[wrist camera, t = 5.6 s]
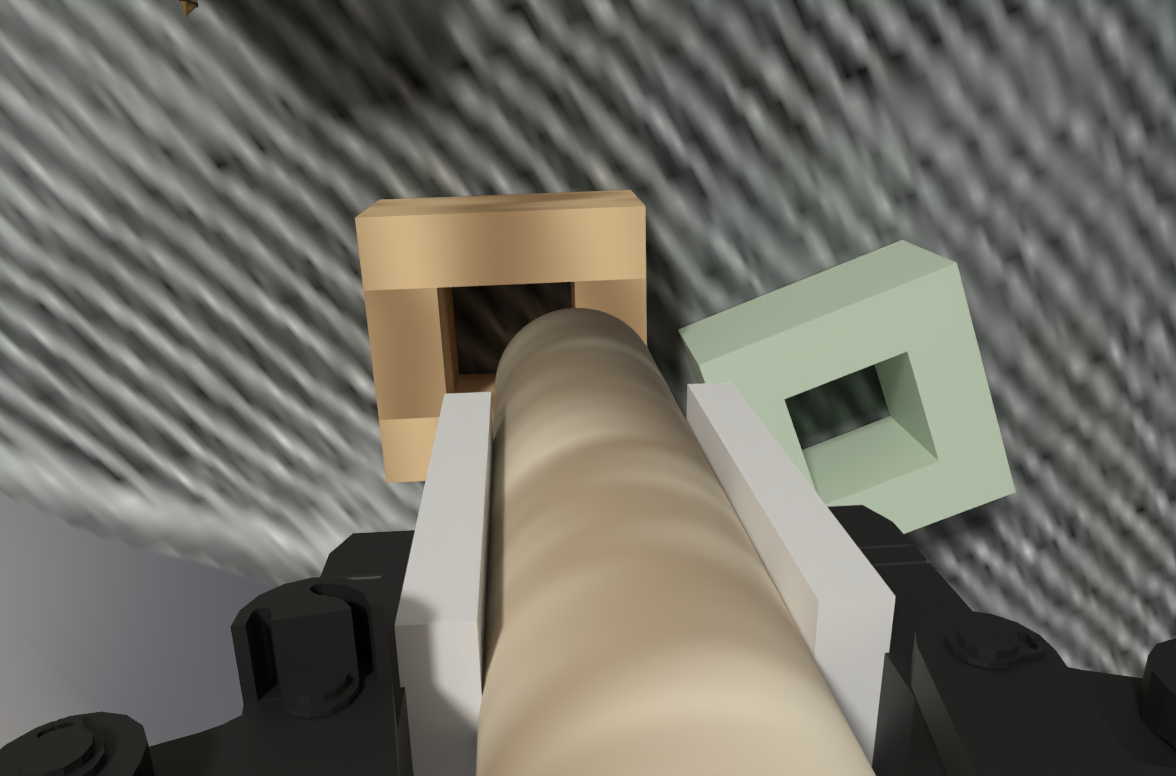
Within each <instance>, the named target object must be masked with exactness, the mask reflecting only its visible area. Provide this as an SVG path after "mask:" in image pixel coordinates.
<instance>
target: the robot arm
mask: <svg viewBox="0 0 1176 776" xmlns="http://www.w3.org/2000/svg"><path fill="white" fill-rule="evenodd" d="M687 423H688V425H689V427H690V429H691V430H692V432H693V434H694V436H695V438H696V440H697V442H698V444H699V445H700V447H701V449H702V451H703V453H704V455H705V457H706V458H707V460H708V462H709V464H710V466H711V468H712V470H713V472H714V473H715V475H716V477H717V479H718V481H719V483H720V485H721V487H722V488H723V490H724V492H725V494H726V496H727V498H728V500H729V502H730V503H731V505H732V507H733V509H734V511H735V513H736V515H737V516H738V518H739V520H740V522H741V524H742V526H743V528H744V530H745V531H746V533H747V535H748V537H749V539H750V541H751V543H752V545H753V546H754V548H755V550H756V552H757V554H758V556H759V558H760V560H761V561H762V563H763V565H764V567H765V569H766V571H767V573H768V575H769V576H770V578H771V580H772V582H773V584H774V586H775V588H776V589H777V591H778V593H779V595H780V597H781V599H782V601H783V603H784V604H785V606H786V608H787V610H788V612H789V614H790V616H791V618H792V619H793V621H794V623H795V625H796V627H797V629H798V631H799V633H800V634H801V636H802V638H803V640H804V642H805V644H806V646H807V647H808V649H809V651H810V653H811V655H812V657H813V659H814V661H815V662H816V664H817V666H818V668H819V670H820V672H821V674H822V676H823V677H824V679H825V681H826V683H827V685H828V687H829V689H830V691H831V692H832V694H833V696H834V698H835V700H836V702H837V704H838V706H839V707H840V709H841V711H842V713H843V715H844V717H845V719H846V720H847V722H848V724H849V726H850V728H851V730H852V732H853V734H854V735H855V737H856V739H857V741H858V743H859V745H860V747H861V749H862V750H863V752H864V754H865V756H866V758H867V760H868V762H869V764H870V765H871V767H872V769H873V771H874V773H875V775H876V776H1176V638H1175V639H1172V640H1168V641H1165V642H1162V643H1158V644H1156V646H1155V647H1154V648H1153V650H1152V651H1151V652H1150V654H1149V655H1148V658H1147V663H1146V667H1145V672H1144V676H1143V678H1136V677H1129V676H1122V675H1114V674H1107V673H1100V672H1093V671H1086V670H1079V669H1074V668H1069V667H1067V666H1066V664H1065V663H1064V661H1063V660H1062V659H1061V657H1060V656H1059V654H1058V653H1057V651H1056V650H1055V649H1054V648H1053V647H1052V646H1051V645H1050V644H1049V643H1047V642H1046V641H1045V640H1044V639H1043V638H1042V637H1041V636H1040V635H1039V634H1037V633H1035V632H1033V631H1031V630H1030V629H1028V628H1026V627H1024V626H1023V625H1021V624H1019V623H1017V622H1014V621H1011V620H1008V619H1005V618H1002V617H999V616H996V615H993V614H988V613H980V612H973V611H972V610H971V609H970V608H969V607H968V606H967V604H966V603H965V602H964V601H963V600H962V599H961V598H960V597H959V595H958V594H957V593H956V592H955V591H954V590H953V589H952V588H951V586H950V585H949V584H948V583H947V582H946V581H945V580H944V579H943V577H942V576H941V575H940V574H939V573H938V572H937V571H936V570H935V568H934V567H933V566H932V565H931V564H930V563H926V558H925V557H924V556H923V555H922V554H921V553H920V552H919V551H918V549H917V548H916V547H915V546H911V542H910V540H909V539H908V538H907V537H906V536H905V535H904V534H903V533H902V531H901V530H900V529H899V528H898V527H897V526H896V525H895V524H894V522H893V521H891V520H889V519H887V518H885V517H884V516H882V515H880V514H878V513H876V512H875V511H873V510H871V509H869V508H867V507H866V506H864V505H849V506H829V507H827V506H826V505H825V503H824V502H823V501H822V499H821V498H820V497H819V495H818V494H817V493H816V492H815V490H814V489H813V488H812V486H811V485H810V484H809V482H808V481H807V480H806V478H805V477H804V476H803V474H802V473H801V472H800V471H799V469H798V468H797V467H796V465H795V464H794V463H793V461H792V460H791V459H790V457H789V456H788V455H787V454H786V452H785V451H784V450H783V448H782V447H781V446H780V444H779V443H778V442H777V440H776V439H775V438H774V437H773V435H772V434H771V433H770V431H769V430H768V429H767V427H766V426H765V425H764V423H763V422H762V421H761V419H760V418H759V417H758V416H757V414H756V413H755V412H754V410H753V409H752V408H751V406H750V405H749V404H748V402H747V401H746V400H745V399H744V397H743V396H742V395H741V393H740V392H739V391H738V389H737V388H736V387H735V385H734V384H733V383H732V382H729V383H703V384H687ZM493 445H494V439H493V419H492V400H491V392H475V393H449V394H444V398H443V403H442V407H441V412H440V417H439V421H438V426H437V431H436V435H435V440H434V445H433V449H432V454H431V458H430V463H429V468H428V472H427V477H426V482H425V486H424V491H423V496H422V500H421V505H420V509H419V514H418V519H417V523H416V528H415V530H412V531H392V532H373V533H353V534H352V535H351V536H350V537H348V538H347V539H346V540H345V541H344V542H343V543H342V544H340V545H339V546H338V547H337V548H336V549H335V550H333V551H332V552H331V553H330V554H329V556H328V559H327V561H326V564H325V566H324V569H323V572H322V574H321V577H317V578H309V579H304V580H300V581H296V582H291V583H287V584H283V585H281V586H279V587H277V588H274V589H272V590H270V591H268V592H265V593H263V594H261V595H259V596H258V597H256V598H255V599H254V600H253V601H251V602H250V603H249V604H247V605H246V606H245V607H243V608H242V609H241V610H240V611H239V613H238V615H237V616H236V618H235V620H234V622H233V624H232V625H231V632H232V637H233V644H234V650H235V656H236V662H237V668H238V673H239V679H240V685H241V691H242V697H243V703H244V706H243V712H242V715H241V716H239V717H237V718H235V719H233V720H231V721H229V722H227V723H225V724H223V725H220V726H217V727H214V728H211V729H209V730H206V731H203V732H200V733H197V734H193V735H189V736H186V737H182V738H179V739H176V740H172V741H168V742H164V743H161V744H157V745H154V746H150V747H149V746H148V742H147V738H146V735H145V731H144V728H143V725H141V724H140V723H138V722H136V721H135V720H133V719H132V718H130V717H129V716H127V715H122V714H114V713H107V712H96V713H88V714H82V715H74V716H69V717H66V718H63V719H59V720H57V721H54V722H53V721H52V722H50V723H47V724H45V725H42V726H39V727H37V728H35V729H33V730H31V731H29V732H28V733H26V734H24V735H23V736H20V737H19V738H17V739H15V740H14V741H12V742H10V743H8V744H6V745H5V746H4V747H2V748H1V749H0V776H475V773H476V753H477V734H478V717H479V711H480V705H481V699H482V682H483V660H484V639H485V617H486V596H487V574H488V552H489V531H490V509H491V488H492V466H493Z"/></svg>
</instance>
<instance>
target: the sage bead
mask: <svg viewBox="0 0 1176 776" xmlns="http://www.w3.org/2000/svg"><path fill="white" fill-rule="evenodd" d="M678 331H679V334H680V336H681V339H682V342H683V344H684V347H685V350H686V352H687V355H688V358H689V360H690V363H691V365H692V368H693V371H694V373H695V376H696V379H697V381H698V384H703V383H729V382H732V383H733V384H734V385H735V387H736V388H737V389H738V391H739V392H740V393H741V395H742V396H743V397H744V399H745V400H746V401H747V402H748V404H749V405H750V406H751V408H752V409H753V410H754V412H755V413H756V414H757V416H758V417H759V418H760V419H761V421H762V422H763V423H764V425H765V426H766V427H767V429H768V430H769V431H770V433H771V434H772V435H773V437H774V438H775V439H776V440H777V442H778V443H779V444H780V446H781V447H782V448H783V450H784V451H785V452H786V454H787V455H788V456H789V457H790V459H791V460H792V461H793V463H794V464H795V465H796V467H797V468H798V469H799V471H800V472H801V473H802V474H803V476H804V477H805V478H806V480H807V481H808V482H809V484H810V485H811V486H812V488H813V489H814V490H815V492H816V493H817V494H818V495H819V497H820V498H821V499H822V501H823V502H824V503H825V505H826V506H827V507H829V506H849V505H864V506H866V507H867V508H869V509H871V510H873V511H875V512H876V513H878V514H880V515H882V516H884V517H885V518H887V519H889V520H891V521H893V522H894V524H895V525H896V526H897V527H898V528H899V529H900V530H901V531H902V533H903V534H905V533H908V532H910V531H913V530H916V529H918V528H921V527H924V526H926V525H929V524H932V523H934V522H937V521H940V520H942V519H945V518H948V517H950V516H953V515H956V514H958V513H961V512H964V511H966V510H969V509H972V508H974V507H977V506H980V505H983V504H985V503H988V502H991V501H993V500H996V499H999V498H1001V497H1004V496H1007V495H1009V494H1012V493H1015V488H1014V485H1013V481H1012V477H1011V473H1010V469H1009V465H1008V461H1007V457H1006V453H1005V449H1004V445H1003V442H1002V438H1001V434H1000V430H999V426H998V422H997V418H996V414H995V410H994V406H993V402H992V399H991V395H990V391H989V387H988V383H987V379H986V375H985V371H984V367H983V363H982V360H981V356H980V352H979V348H978V344H977V340H976V336H975V332H974V328H973V324H972V320H971V317H970V313H969V309H968V305H967V301H966V297H965V293H964V289H963V285H962V281H961V278H960V274H959V270H958V266H957V263H956V262H954V261H951V260H949V259H946V258H944V257H942V256H939V255H937V254H935V253H932V252H930V251H927V250H925V249H923V248H920V247H918V246H915V245H913V244H911V243H908V242H906V241H904V240H901V241H898V242H896V243H893V244H891V245H888V246H886V247H883V248H881V249H878V250H876V251H873V252H871V253H868V254H866V255H863V256H861V257H858V258H856V259H853V260H851V261H848V262H846V263H843V264H841V265H838V266H836V267H833V268H831V269H828V270H826V271H823V272H821V273H818V274H816V275H813V276H811V277H808V278H806V279H803V280H801V281H798V282H796V283H793V284H791V285H788V286H786V287H783V288H781V289H778V290H776V291H773V292H771V293H768V294H766V295H763V296H761V297H758V298H756V299H753V300H751V301H748V302H746V303H743V304H741V305H738V306H736V307H733V308H731V309H728V310H726V311H723V312H721V313H718V314H716V315H713V316H711V317H708V318H706V319H703V320H701V321H698V322H696V323H693V324H691V325H688V326H686V327H683V328H681V329H678ZM874 364H875V368H876V371H877V374H878V378H879V381H880V384H881V388H882V391H883V394H884V398H885V401H886V404H887V408H888V411H889V414H890V416H889V417H886V418H884V419H881V420H878V421H876V422H873V423H871V424H868V425H865V426H863V427H860V428H858V429H855V430H852V431H850V432H847V433H845V434H842V435H839V436H837V437H834V438H832V439H829V440H826V441H824V442H821V443H819V444H816V445H813V446H811V447H808V448H806V449H803V450H802V449H801V447H800V444H799V441H798V438H797V435H796V432H795V429H794V426H793V423H792V420H791V418H790V415H789V412H788V409H787V406H786V403H785V400H784V399H787V398H789V397H792V396H794V395H797V394H799V393H802V392H804V391H807V390H810V389H812V388H815V387H817V386H820V385H822V384H825V383H828V382H830V381H833V380H835V379H838V378H840V377H843V376H845V375H848V374H851V373H853V372H856V371H858V370H861V369H863V368H866V367H869V366H871V365H874Z"/></svg>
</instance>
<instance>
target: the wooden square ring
mask: <svg viewBox="0 0 1176 776" xmlns="http://www.w3.org/2000/svg"><path fill="white" fill-rule="evenodd" d="M355 221H356V230H357V238H358V247H359V255H360V264H361V272H362V280H363V289H364V297H365V306H366V314H367V323H368V331H369V339H370V348H371V356H372V365H373V373H374V382H375V390H376V398H377V407H378V415H379V424H380V432H381V440H382V449H383V457H384V466H385V474H386V483H391V482H410V481H426V477H427V472H428V468H429V463H430V458H431V454H432V449H433V445H434V440H435V435H436V431H437V426H438V421H439V417H440V412H441V407H442V403H443V398H444V394H449V393H475V392H491V400H492V419H494V400H495V380H496V374H497V373H485V374H464V375H459V365H458V353H457V341H456V329H455V317H454V306H453V294H452V287H463V286H485V285H508V284H531V283H554V282H571V307H572V308H588V309H594V310H599V311H602V312H605V313H608V314H610V315H612V316H615V317H617V318H618V319H620V320H622V321H623V322H625V323H626V324H627V325H629V326H630V327H631V328H632V329H633V330H634V331H635V332H636V333H637V334H638V335H639V336H640V337H641V339H642V340H643V342H644V343H645V345H646V346H647V313H646V215H645V205H644V204H643V203H642V202H641V201H640V200H639V199H638V197H637V196H636V195H635V194H634V193H633V192H632V191H631V190H615V191H590V192H564V193H539V194H513V195H488V196H462V197H437V198H412V199H386V200H379V201H377V202H376V203H374V204H373V205H372V206H370V207H369V208H368V209H366V210H365V211H364V212H362V213H361V214H359V215H358V216H357V217H355Z"/></svg>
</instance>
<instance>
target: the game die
mask: <svg viewBox="0 0 1176 776" xmlns="http://www.w3.org/2000/svg"><path fill="white" fill-rule="evenodd" d="M179 1H180V4H181V6H182V8H183V11H184V13H185V16H186V17H187V16H188V15H189V14H190V13H191V12H192V11H193V10H194V9H195V8H196V7H198V3H197V0H179Z"/></svg>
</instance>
